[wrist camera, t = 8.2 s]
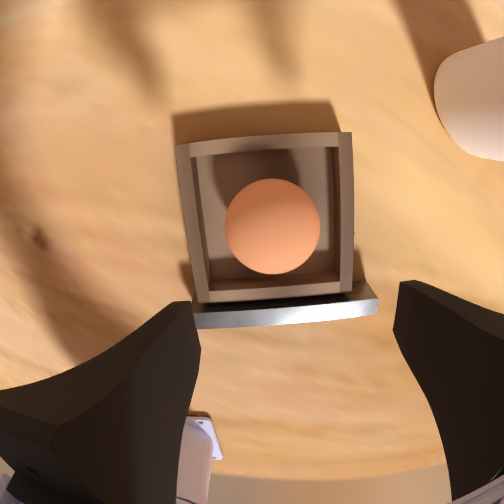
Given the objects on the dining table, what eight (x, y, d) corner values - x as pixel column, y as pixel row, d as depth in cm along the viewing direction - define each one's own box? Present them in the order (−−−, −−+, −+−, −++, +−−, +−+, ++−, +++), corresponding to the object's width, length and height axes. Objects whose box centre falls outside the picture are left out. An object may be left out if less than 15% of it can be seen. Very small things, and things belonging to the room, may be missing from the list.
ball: (233, 258, 19) (227, 295, 15) (223, 178, 18) (213, 190, 13) (312, 251, 19) (330, 285, 14) (308, 171, 17) (328, 181, 13)
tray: (203, 288, 21) (198, 303, 19) (183, 144, 17) (174, 145, 15) (343, 278, 20) (351, 291, 18) (341, 133, 17) (351, 132, 15)
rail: (197, 309, 21) (190, 329, 19) (194, 294, 21) (187, 313, 18) (365, 296, 21) (376, 314, 18) (366, 281, 20) (378, 298, 18)
